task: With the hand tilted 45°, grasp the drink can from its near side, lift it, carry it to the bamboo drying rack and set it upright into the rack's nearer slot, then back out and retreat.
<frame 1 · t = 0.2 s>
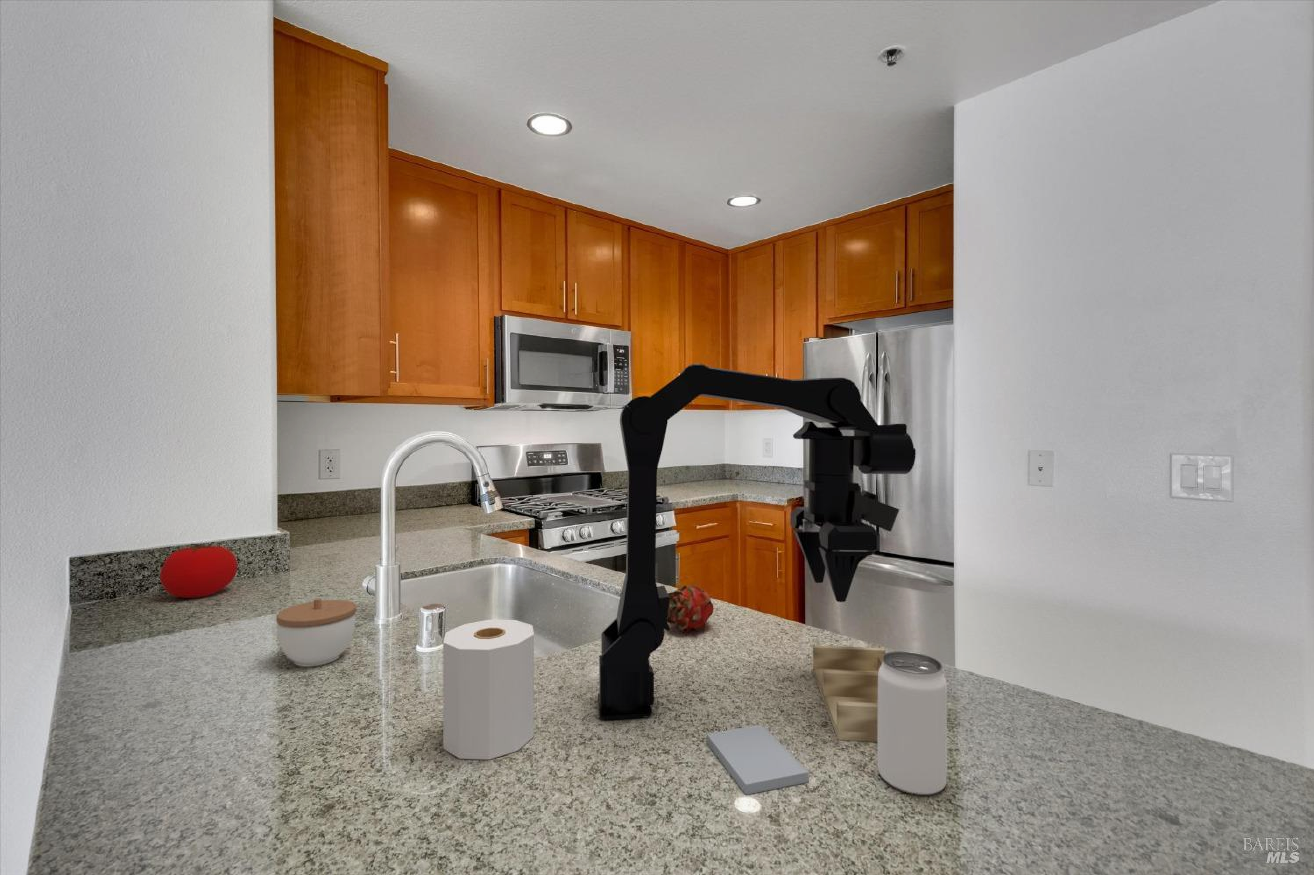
hand: (829, 591, 77), 14 cm above the countertop, tool pointing down, fingers open, 9 cm apart
rack: (863, 703, 76), on the countertop
can: (911, 780, 60), on the countertop
dragon fruit: (689, 629, 105), on the countertop
tomato: (199, 596, 126), on the countertop
toilet paper: (489, 737, 68), on the countertop
lidded jar: (317, 660, 90), on the countertop
block: (754, 761, 63), on the countertop
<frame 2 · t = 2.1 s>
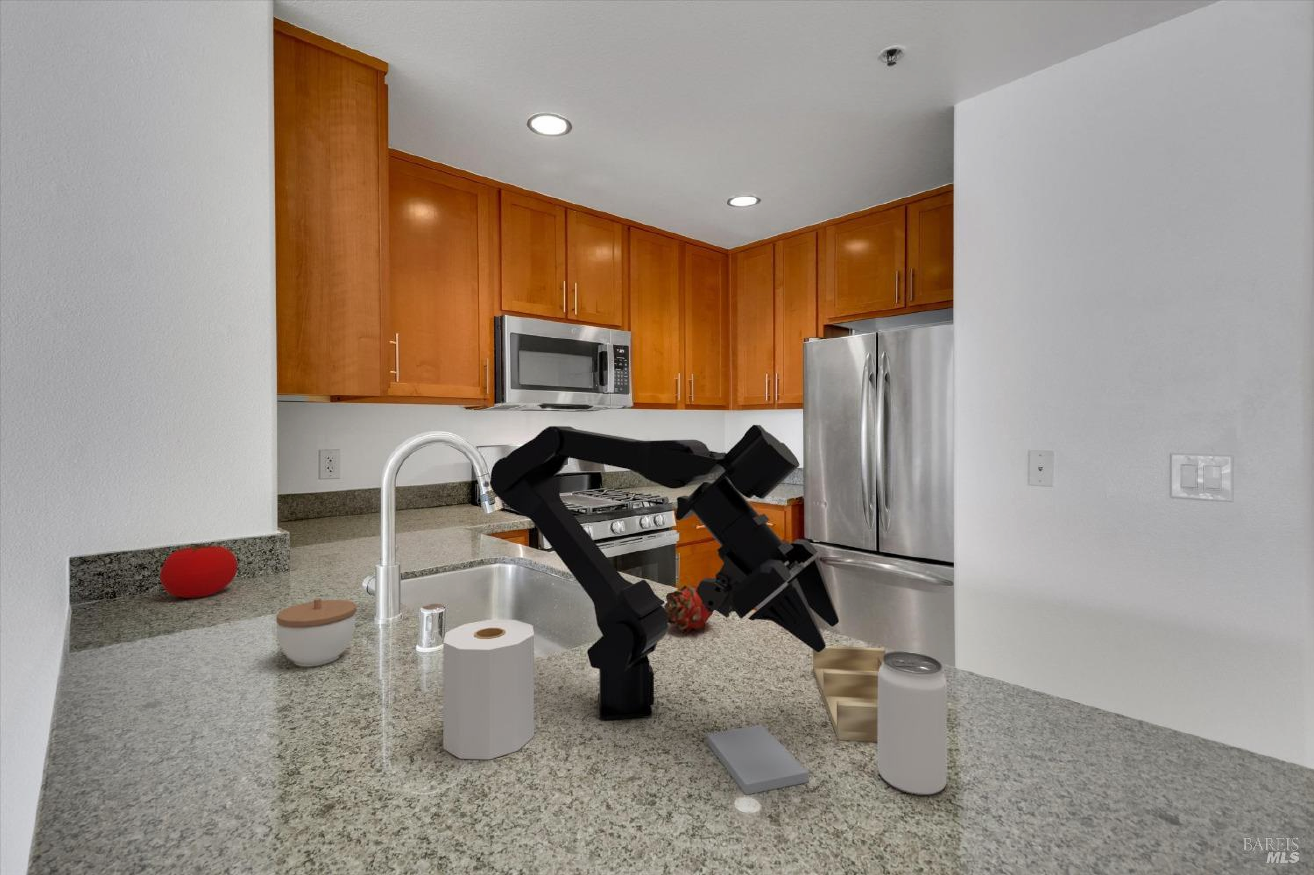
hand: (829, 636, 63), 13 cm above the countertop, tool tilted 45°, fingers open, 9 cm apart
nothing on the countertop moved.
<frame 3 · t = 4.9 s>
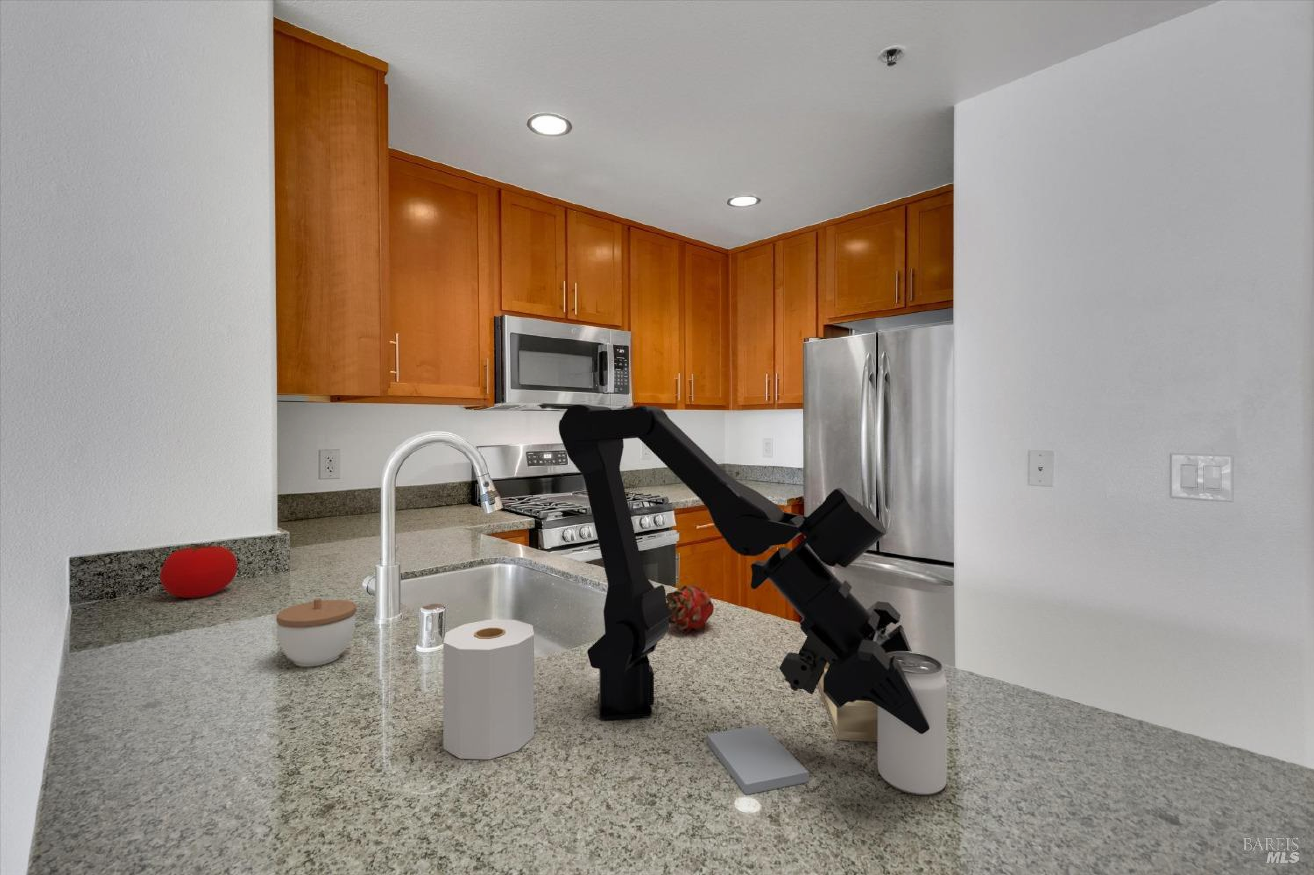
hand: (926, 716, 59), 7 cm above the countertop, tool tilted 45°, fingers closed on can, 6 cm apart
can: (911, 779, 60), on the countertop, touching gripper
everything else where it was.
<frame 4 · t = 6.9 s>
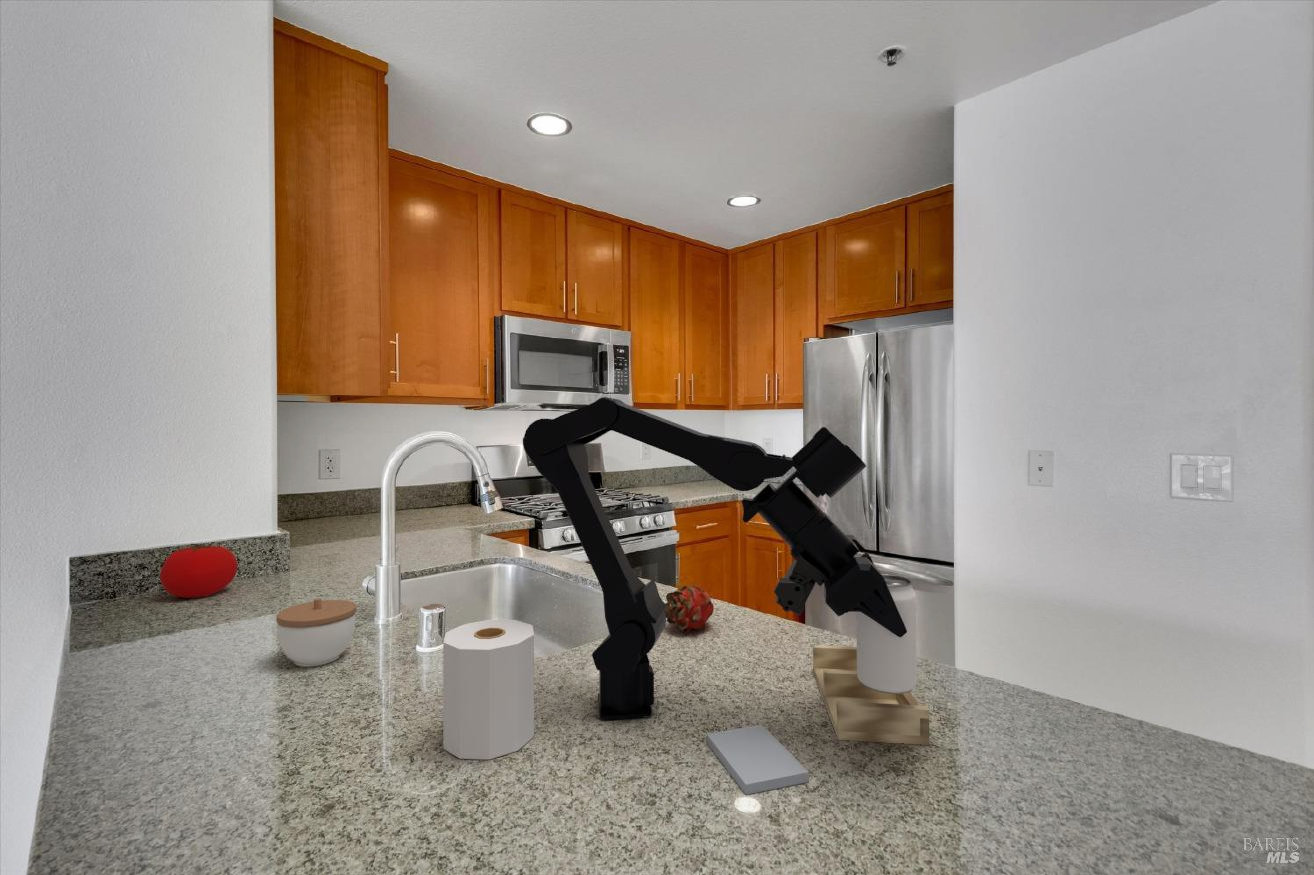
hand: (898, 624, 67), 13 cm above the countertop, tool tilted 45°, fingers closed on can, 6 cm apart
can: (886, 684, 67), point 6 cm above the countertop, touching gripper
everything else where it was.
when the fingers open (9 cm above the countertop, at t = 8.7 s): can stays where it is, resting on rack.
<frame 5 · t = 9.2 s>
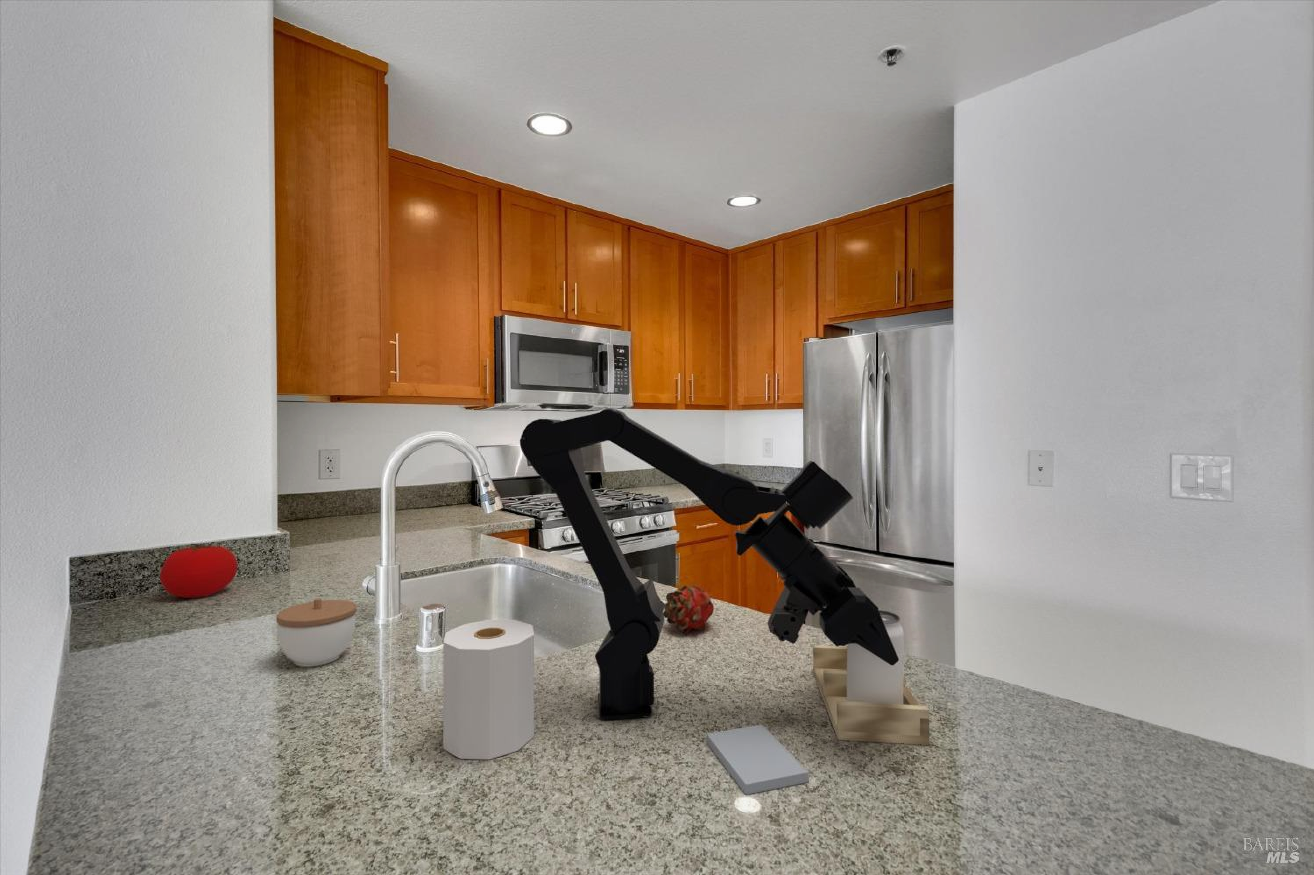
hand: (884, 647, 71), 9 cm above the countertop, tool tilted 45°, fingers open, 9 cm apart
can: (874, 714, 71), point 1 cm above the countertop, touching rack
everything else where it was.
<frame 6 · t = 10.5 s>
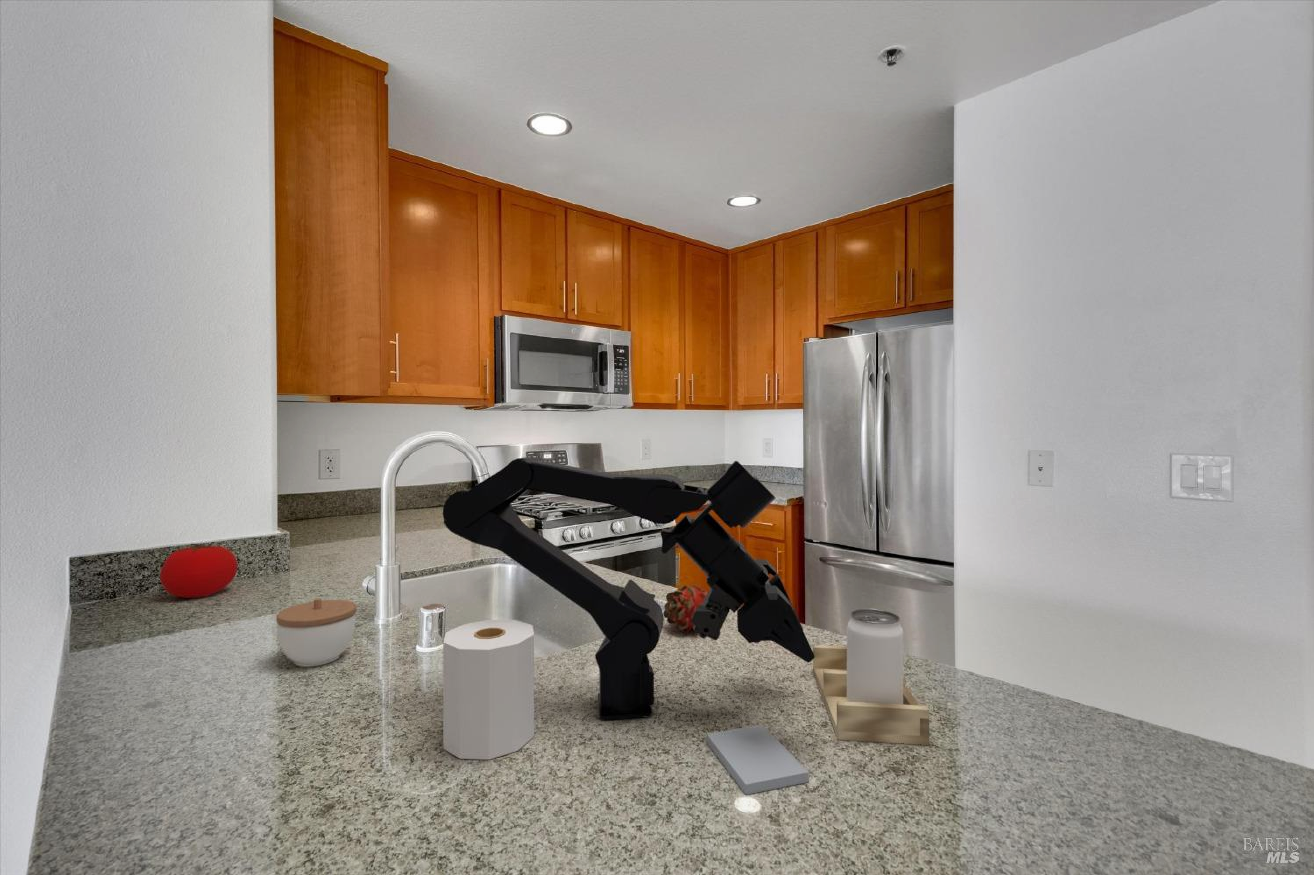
hand: (805, 645, 72), 9 cm above the countertop, tool tilted 45°, fingers open, 9 cm apart
nothing on the countertop moved.
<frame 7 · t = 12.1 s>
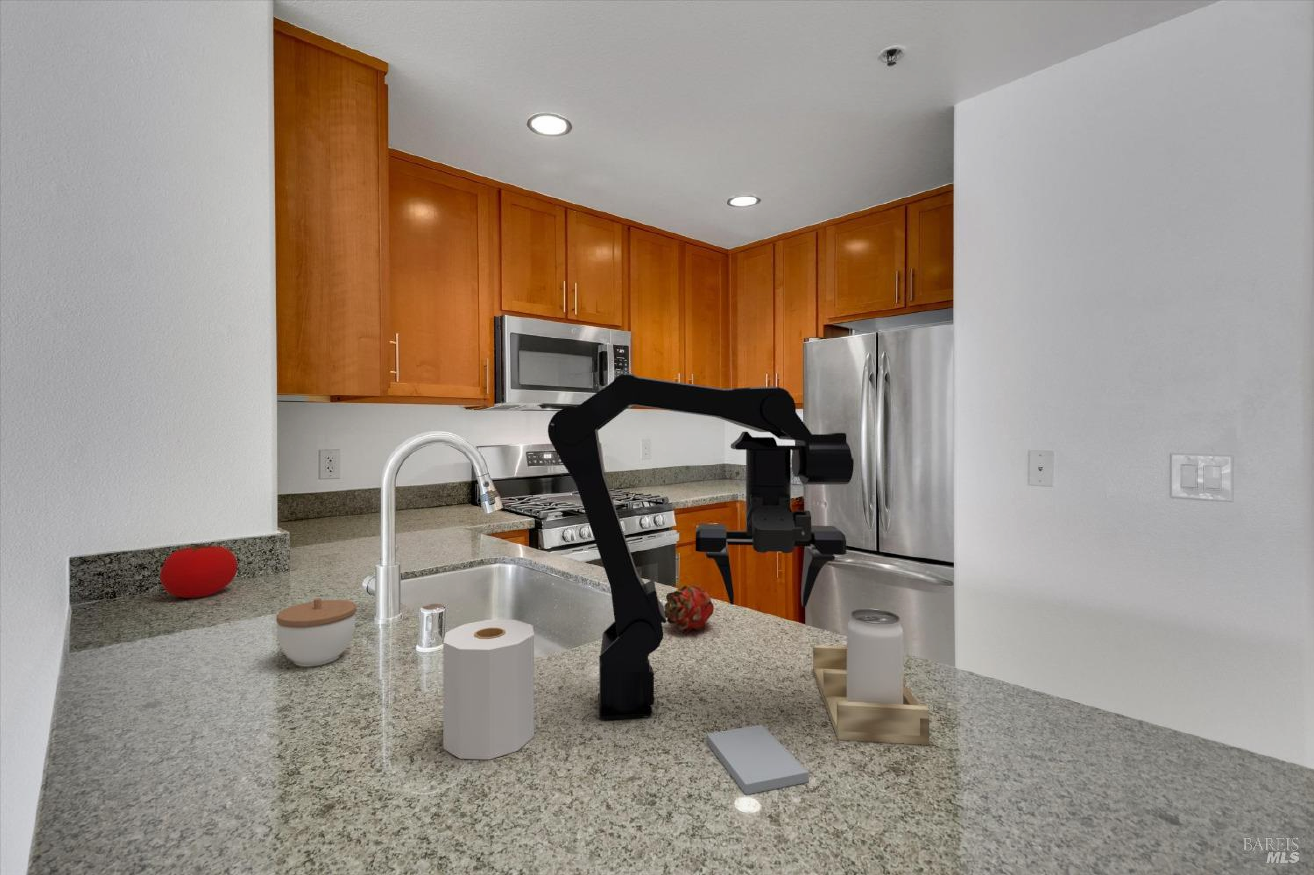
hand: (767, 604, 76), 13 cm above the countertop, tool pointing down, fingers open, 9 cm apart
nothing on the countertop moved.
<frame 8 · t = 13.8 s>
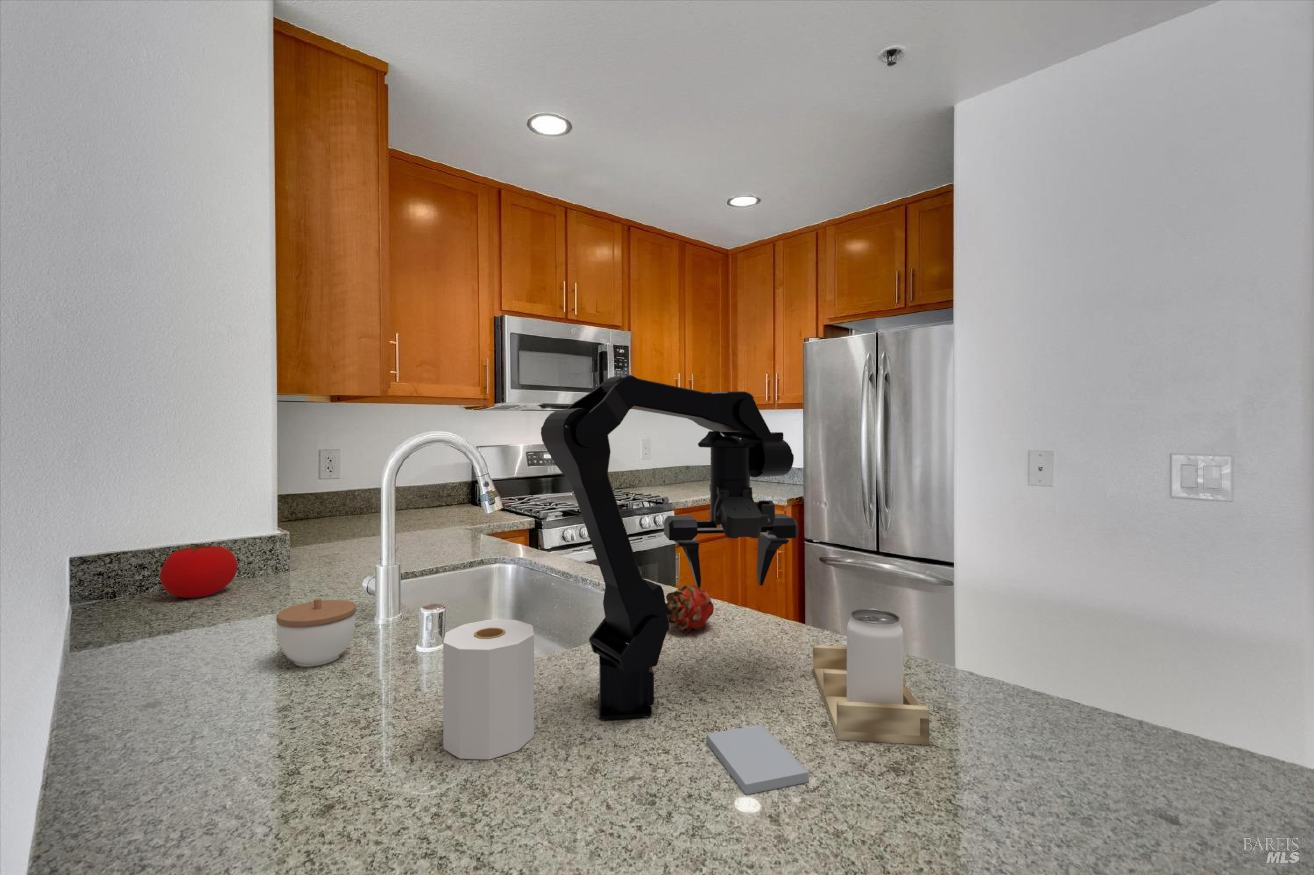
hand: (729, 586, 85), 13 cm above the countertop, tool pointing down, fingers open, 9 cm apart
nothing on the countertop moved.
at the end: can inside the target area (0.1 cm from its centre), point 0.8 cm above the countertop; can tilted 0°; the gripper is holding nothing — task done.
